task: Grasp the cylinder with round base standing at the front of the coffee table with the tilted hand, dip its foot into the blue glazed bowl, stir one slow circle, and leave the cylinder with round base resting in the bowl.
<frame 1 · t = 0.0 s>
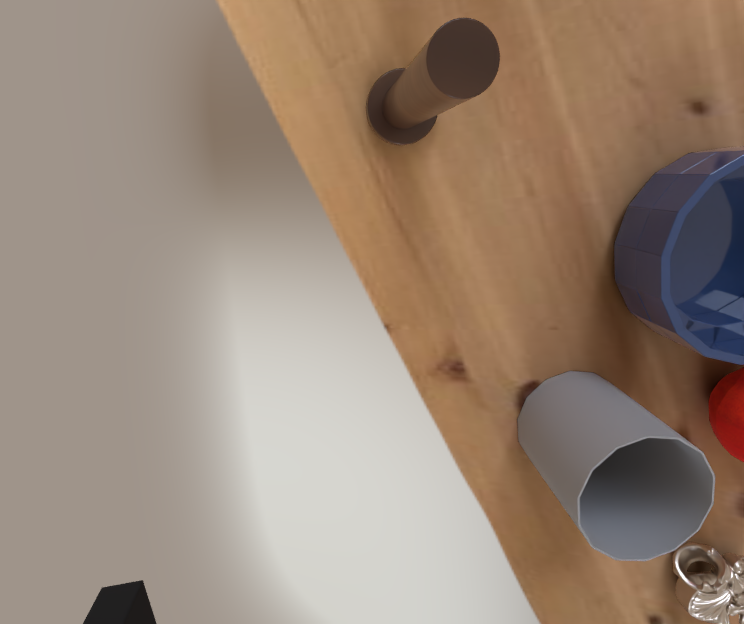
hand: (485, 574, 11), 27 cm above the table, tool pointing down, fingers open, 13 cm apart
cup: (569, 421, 41), on the table
cylinder with round base: (400, 109, 34), on the table
ornament: (703, 567, 46), on the table
apple: (732, 392, 42), on the table
bowl: (699, 246, 38), on the table
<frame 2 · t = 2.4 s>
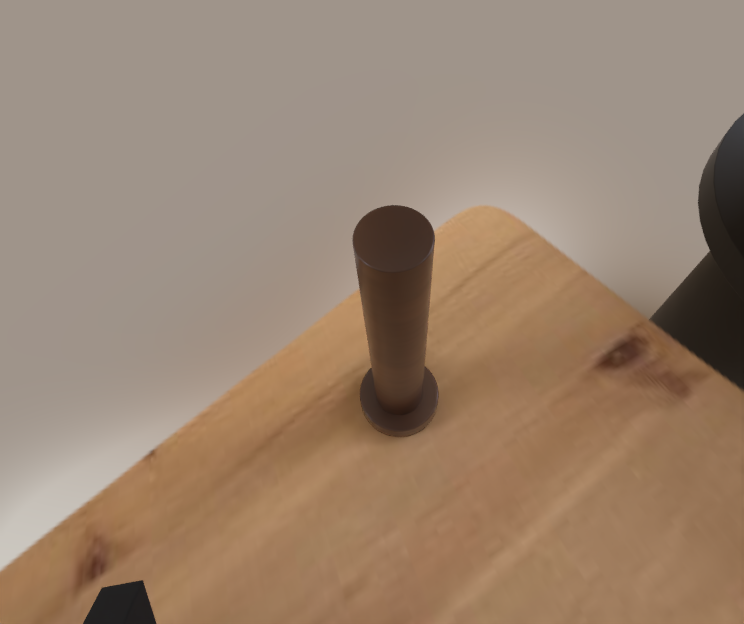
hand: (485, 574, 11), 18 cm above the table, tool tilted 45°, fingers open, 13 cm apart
cylinder with round base: (399, 399, 31), on the table
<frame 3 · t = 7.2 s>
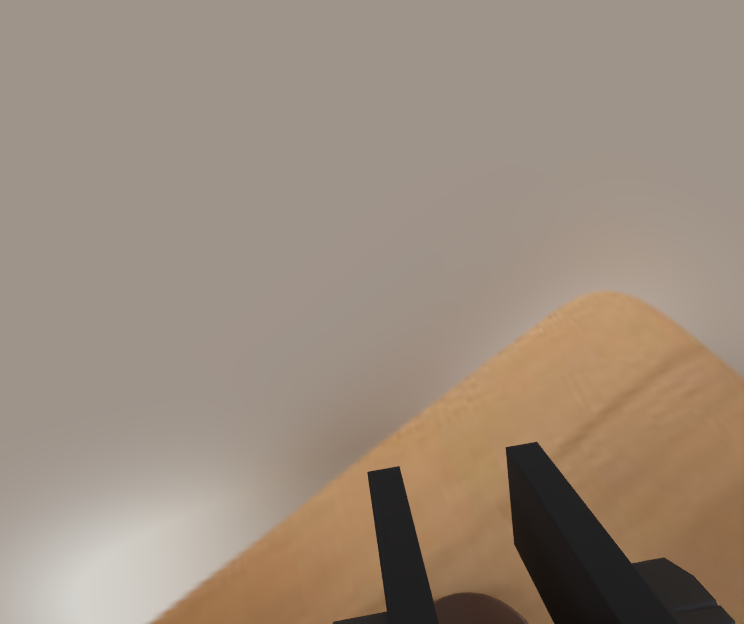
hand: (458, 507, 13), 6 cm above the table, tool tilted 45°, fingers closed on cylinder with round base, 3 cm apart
when the fingers open (7 cm above the table, at t = 19.1 s): cylinder with round base stays where it is, resting on bowl.
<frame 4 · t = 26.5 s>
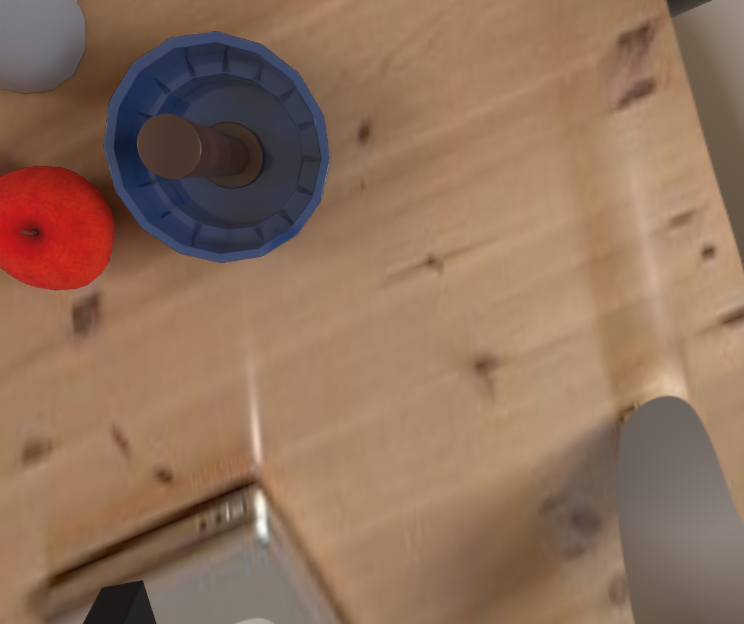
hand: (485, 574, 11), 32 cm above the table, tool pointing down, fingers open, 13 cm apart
cup: (20, 25, 35), on the table
cylinder with round base: (232, 156, 38), point 1 cm above the table, touching bowl
apple: (78, 223, 39), on the table
bowl: (235, 155, 38), on the table
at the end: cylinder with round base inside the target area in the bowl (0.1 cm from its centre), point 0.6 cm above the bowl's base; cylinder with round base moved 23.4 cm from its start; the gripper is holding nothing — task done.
